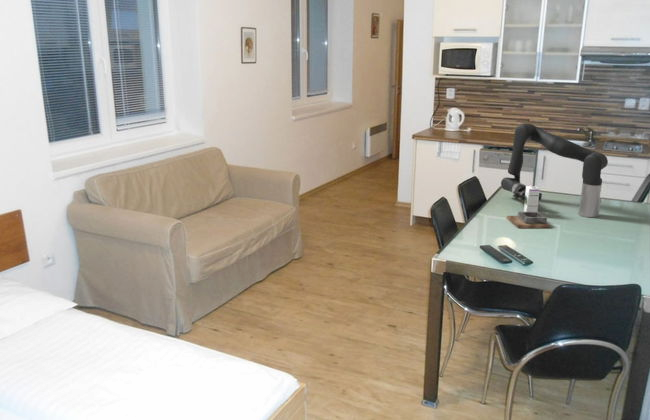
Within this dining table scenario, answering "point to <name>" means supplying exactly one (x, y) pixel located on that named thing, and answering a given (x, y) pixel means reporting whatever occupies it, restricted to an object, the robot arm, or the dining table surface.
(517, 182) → the robot arm
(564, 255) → the dining table surface
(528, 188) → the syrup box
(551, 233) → the dining table surface
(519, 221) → the jig
